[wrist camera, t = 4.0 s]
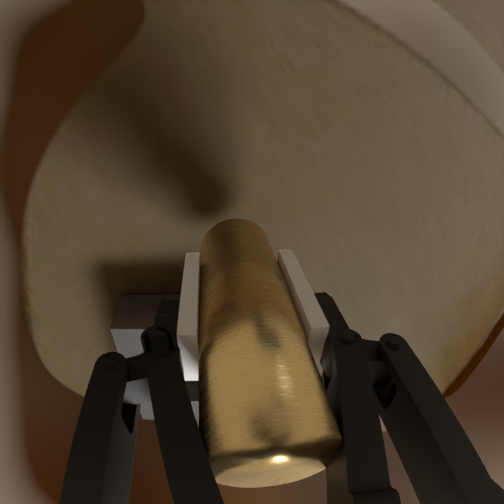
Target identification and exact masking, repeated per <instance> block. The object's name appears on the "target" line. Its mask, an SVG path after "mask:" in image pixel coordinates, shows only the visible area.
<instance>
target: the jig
mask: <svg viewBox="0 0 504 504" xmlns="http://www.w3.org/2000/svg"><path fill="white" fill-rule="evenodd" d="M180 297H181V294H143V295H122V297H121V300H120V302H119V305H118V308H117V311H116V314H115V317H114V320H113V322H112V325H111V328H110V330H111V333H112V336H113V339H114V343H115V346H116V349H117V352H118V353H120V354H122V355H124V357H125V358H129V357H133V356H137V355H140V354H141V353H143V352H144V350H143V347H142V343H141V339H140V338H141V334H142V332H143V331H144V330H145V329H147V328H148V327H151V326H153V325H154V320H155V316H156V310H157V306H158V305H159V304H160V303H161V302H162V300H180ZM185 383H186V387H187V391H188V394H189V398H190V401H191V405H192V408H193V412H194V415H195V419H199V392H198V381H185ZM140 412H141V415H142V417H143V419H154V414H153V409H152V403H151V401H149V402H145V403H141V406H140Z"/></svg>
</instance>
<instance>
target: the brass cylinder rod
mask: <svg viewBox="0 0 504 504" xmlns="http://www.w3.org/2000/svg"><path fill="white" fill-rule="evenodd" d="M200 266H201V270H200V302H199V354H198V392H199V432H200V435H201V438H202V442H203V445H204V448H205V451H206V454H207V457H208V460H209V463H210V466H211V469H212V472H213V475H214V477H215V480H216V483H219V484H223V485H227V486H234V487H267V486H274V485H280V484H285V483H289V482H294V481H297V480H300V479H303V478H306V477H309V476H311V475H313V474H316V473H318V472H320V471H322V470H324V469H325V468H327V467H328V465H329V463H330V462H331V460H332V459H333V457H334V455H335V454H336V452H337V450H338V449H339V447H340V445H341V444H342V442H343V438H342V435H341V432H340V428H339V426H338V423H337V420H336V417H335V414H334V412H333V409H332V406H331V403H330V401H329V398H328V395H327V392H326V390H325V387H324V384H323V381H322V379H321V376H320V373H319V371H318V368H317V365H316V362H315V360H314V357H313V354H312V352H311V349H310V346H309V344H308V341H307V338H306V336H305V333H304V330H303V328H302V325H301V322H300V320H299V317H298V315H297V312H296V309H295V307H294V304H293V301H292V299H291V296H290V294H289V291H288V288H287V286H286V283H285V281H284V278H283V276H282V273H281V270H280V268H279V265H278V263H277V260H276V258H275V255H274V252H273V250H272V247H271V245H270V242H269V240H268V237H267V235H266V233H265V232H264V231H263V230H262V228H261V227H259V226H258V225H257V224H255V223H253V222H251V221H249V220H245V219H228V220H225V221H222V222H220V223H218V224H216V225H215V226H213V227H212V228H211V229H210V230H209V231H208V232H207V234H206V235H205V237H204V239H203V242H202V246H201V264H200Z"/></svg>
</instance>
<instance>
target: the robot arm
mask: <svg viewBox="0 0 504 504" xmlns="http://www.w3.org/2000/svg"><path fill="white" fill-rule="evenodd" d="M278 265H279V268H280V270H281V273H282V276H283V278H284V281H285V283H286V286H287V288H288V291H289V294H290V296H291V299H292V301H293V304H294V307H295V309H296V312H297V315H298V317H299V320H300V322H301V325H302V328H303V330H304V333H305V336H306V338H307V341H308V344H309V346H310V349H311V352H312V354H313V357H314V360H315V362H316V365H317V368H318V370H319V366H320V363H321V365H322V368H323V373H322V376H321V379H322V381H323V384H324V387H325V390H326V392H327V395H328V398H329V401H330V403H331V406H332V409H333V412H334V414H335V417H336V420H337V423H338V426H339V428H340V432H341V435H342V438H343V442H342V444H341V445H340V447H339V449H338V450H337V452H336V454H335V455H334V457H333V459H332V460H331V462H330V463H329V465H328V467H327V468H326V478H327V504H401V502H400V497H399V493H398V492H397V490H395V489H394V488H392V487H391V485H390V480H389V473H388V466H387V459H386V453H385V447H384V441H383V435H382V429H381V423H380V418H379V415H380V417H381V419H382V421H383V423H384V425H385V427H386V429H387V432H388V434H389V436H390V438H391V440H392V442H393V444H394V446H395V449H396V451H397V452H398V455H399V457H400V459H401V461H402V464H403V466H404V468H405V470H406V473H407V475H408V477H409V479H410V482H411V484H412V486H413V488H414V491H415V493H416V495H417V498H418V500H419V502H420V504H504V490H503V489H502V488H501V487H500V486H499V485H498V484H496V483H495V482H494V481H493V480H492V479H491V478H490V476H489V474H488V472H487V470H486V468H485V466H484V465H483V463H482V461H481V459H480V457H479V456H478V454H477V452H476V450H475V448H474V447H473V445H472V443H471V442H470V440H469V438H468V437H467V435H466V433H465V431H464V430H463V428H462V426H461V425H460V423H459V421H458V420H457V418H456V416H455V415H454V413H453V412H452V410H451V408H450V407H449V405H448V403H447V402H446V400H445V399H444V397H443V396H442V394H441V392H440V391H439V389H438V388H437V386H436V385H435V383H434V382H433V380H432V379H431V377H430V376H429V374H428V373H427V371H426V370H425V368H424V367H423V365H422V364H421V362H420V361H419V359H418V358H417V356H416V355H415V353H414V352H413V350H412V349H411V348H410V346H409V345H408V343H407V342H406V340H405V339H404V338H403V337H401V336H399V335H397V334H393V333H387V334H384V335H382V337H381V338H380V340H379V341H372V340H365V339H362V338H361V336H360V335H359V334H358V333H357V332H356V331H353V330H351V329H349V327H348V325H347V323H346V322H345V320H344V318H343V316H342V314H341V312H340V311H339V309H338V307H337V306H336V303H335V301H334V300H333V298H332V297H331V296H329V295H328V294H327V293H326V292H323V293H313V291H312V289H311V287H310V285H309V283H308V281H307V279H306V277H305V275H304V273H303V271H302V269H301V267H300V265H299V263H298V261H297V259H296V257H295V255H294V253H293V251H292V249H291V250H279V252H278ZM200 270H201V266H200V252H191V253H186V256H185V264H184V272H183V280H182V288H181V297H180V300H162V302H161V303H160V304H159V305H158V306H157V310H156V316H155V320H154V325H153V326H151V327H148V328H147V329H145V330H144V331H143V332H142V334H141V338H140V339H141V343H142V347H143V350H144V352H143V353H141V354H140V355H137V356H133V357H129V358H125V357H124V355H122V354H120V353H118V352H108V353H105V354H103V355H101V356H100V357H99V358H98V359H97V361H96V363H95V366H94V369H93V372H92V375H91V378H90V381H89V384H88V388H87V391H86V394H85V397H84V401H83V404H82V408H81V412H80V415H79V419H78V423H77V426H76V430H75V434H74V438H73V442H72V446H71V450H70V454H69V459H68V464H67V468H66V473H65V478H64V483H63V488H62V493H61V499H60V504H129V500H130V488H131V477H132V468H133V459H134V450H135V442H136V434H137V427H138V420H139V413H140V406H141V403H145V402H149V401H151V403H152V409H153V414H154V420H155V425H156V430H157V435H158V440H159V445H160V449H161V454H162V458H163V463H164V467H165V471H166V475H167V479H168V483H169V487H170V491H171V494H172V498H173V501H174V504H224V502H223V499H222V497H221V494H220V491H219V488H218V486H217V483H216V480H215V477H214V475H213V472H212V469H211V466H210V463H209V460H208V457H207V454H206V451H205V448H204V445H203V442H202V438H201V435H200V432H199V429H198V425H197V422H196V419H195V415H194V412H193V408H192V405H191V401H190V398H189V394H188V391H187V387H186V383H185V381H198V354H199V302H200Z"/></svg>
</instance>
